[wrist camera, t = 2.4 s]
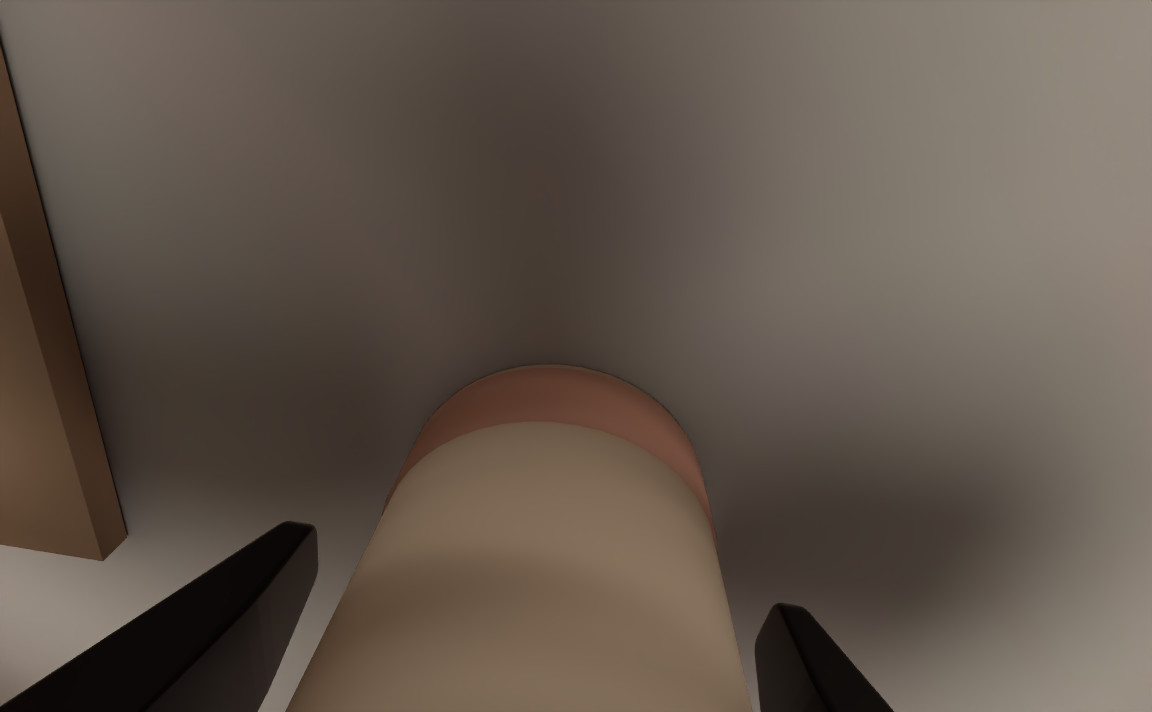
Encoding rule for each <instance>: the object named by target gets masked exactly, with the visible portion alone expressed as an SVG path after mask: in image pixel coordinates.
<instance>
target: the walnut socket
mask: <svg viewBox="0 0 1152 712" xmlns="http://www.w3.org/2000/svg"><path fill="white" fill-rule="evenodd" d="M126 538H127V534H126V530H125V526H124V523H123V519H122V515H121V511H120V507H119V503H118V499H117V495H116V492H115V488H114V484H113V480H112V476H111V472H110V468H109V464H108V461H107V457H106V453H105V449H104V445H103V441H102V437H101V433H100V430H99V426H98V422H97V418H96V414H95V410H94V406H93V403H92V399H91V395H90V391H89V387H88V383H87V379H86V375H85V372H84V368H83V364H82V360H81V356H80V352H79V348H78V344H77V341H76V337H75V333H74V329H73V325H72V321H71V317H70V313H69V310H68V306H67V302H66V298H65V294H64V290H63V286H62V282H61V279H60V275H59V271H58V267H57V263H56V259H55V255H54V251H53V248H52V244H51V240H50V236H49V232H48V228H47V224H46V221H45V217H44V213H43V209H42V205H41V201H40V197H39V193H38V190H37V186H36V182H35V178H34V174H33V170H32V166H31V162H30V159H29V155H28V151H27V147H26V143H25V139H24V135H23V131H22V128H21V124H20V120H19V116H18V112H17V108H16V104H15V100H14V97H13V93H12V89H11V85H10V81H9V77H8V73H7V70H6V66H5V62H4V58H3V54H2V50H1V46H0V545H7V546H13V547H19V548H25V549H31V550H37V551H44V552H50V553H56V554H62V555H68V556H74V557H80V558H87V559H93V560H99V561H104V560H105V559H106V558H107V557H108V556H109V555H110V554H111V553H112V552H113V551H114V550H115V549H116V548H117V547H118V546H119V545H120V544H121V543H122V542H123V541H124V540H125V539H126Z"/></svg>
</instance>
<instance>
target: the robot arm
mask: <svg viewBox="0 0 1152 712" xmlns="http://www.w3.org/2000/svg"><path fill="white" fill-rule="evenodd" d="M317 572H318V545H317V531H316V528H315V527H314V526H313V525H311V524H306V523H300V522H294V521H286V522H283V523H281V524H279V525H277V526H276V527H274V528H273V529H271V530H270V531H268V532H267V533H265V534H264V535H262V536H260V537H259V538H257V539H256V540H254V541H253V542H251V543H250V544H248V545H247V546H245V547H244V548H242V549H241V550H239V551H238V552H236V553H234V554H233V555H231V556H230V557H228V558H227V559H225V560H224V561H222V562H221V563H219V564H218V565H216V566H215V567H213V568H211V569H210V570H208V571H207V572H205V573H204V574H202V575H201V576H199V577H198V578H196V579H195V580H193V581H192V582H190V583H188V584H187V585H185V586H184V587H182V588H181V589H179V590H178V591H176V592H175V593H173V594H172V595H170V596H169V597H167V598H165V599H164V600H162V601H161V602H159V603H158V604H156V605H155V606H153V607H152V608H150V609H149V610H147V611H146V612H144V613H142V614H141V615H139V616H138V617H136V618H135V619H133V620H132V621H130V622H129V623H127V624H126V625H124V626H123V627H121V628H120V629H118V630H116V631H115V632H113V633H112V634H110V635H109V636H107V637H106V638H104V639H103V640H101V641H100V642H98V643H97V644H95V645H93V646H92V647H90V648H89V649H87V650H86V651H84V652H83V653H81V654H80V655H78V656H77V657H75V658H74V659H72V660H70V661H69V662H67V663H66V664H64V665H63V666H61V667H60V668H58V669H57V670H55V671H54V672H52V673H51V674H49V675H47V676H46V677H44V678H43V679H41V680H40V681H38V682H37V683H35V684H34V685H32V686H31V687H29V688H28V689H26V690H24V691H23V692H21V693H20V694H18V695H17V696H15V697H14V698H12V699H11V700H9V701H8V702H6V703H5V704H3V705H2V706H0V712H258V710H259V708H260V706H261V704H262V702H263V700H264V698H265V696H266V694H267V693H268V691H269V688H270V686H271V684H272V682H273V679H274V677H275V675H276V673H277V670H278V668H279V665H280V663H281V661H282V658H283V656H284V654H285V651H286V649H287V646H288V644H289V642H290V639H291V637H292V635H293V632H294V630H295V627H296V625H297V623H298V620H299V618H300V616H301V613H302V611H303V608H304V606H305V604H306V601H307V599H308V597H309V594H310V592H311V589H312V587H313V585H314V582H315V579H316V576H317ZM755 661H756V671H757V681H758V691H759V701H760V710H761V712H894V711H893V710H892V708H891V707H890V706H889V705H888V704H887V703H886V701H885V700H884V699H883V698H882V697H881V696H880V694H879V693H878V692H877V691H876V690H875V689H874V687H873V686H872V685H871V684H870V683H869V682H868V680H867V679H866V678H865V677H864V676H863V675H862V673H861V672H860V671H859V670H858V669H857V668H856V666H855V665H854V664H853V663H852V662H851V661H850V659H849V658H848V657H847V656H846V655H845V654H844V652H843V651H842V650H841V649H840V648H839V647H838V645H837V644H836V643H835V642H834V641H833V640H832V638H831V637H830V636H829V635H828V634H827V633H826V631H825V630H824V629H823V628H822V627H821V626H820V624H819V623H818V622H817V621H816V620H815V619H814V617H813V616H812V615H811V614H810V613H809V612H808V611H807V610H806V609H805V608H803V607H801V606H796V605H790V604H784V603H777V604H775V605H774V606H773V607H772V608H771V610H770V612H769V614H768V616H767V618H766V620H765V622H764V624H763V626H762V628H761V630H760V632H759V634H758V636H757V639H756V643H755Z"/></svg>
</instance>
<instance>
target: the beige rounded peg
mask: <svg viewBox="0 0 1152 712" xmlns="http://www.w3.org/2000/svg"><path fill="white" fill-rule="evenodd" d="M717 555H718V553H717V537H716V533H715V528H714V524H713V520H712V515H711V511H710V507H709V503H708V498H707V494H706V490H705V486H704V481H703V477H702V473H701V468H700V464H699V460H698V458H697V455H696V453H695V451H694V448H693V446H692V444H691V442H690V441H689V439H688V437H687V436H686V434H685V432H684V431H683V430H682V428H681V427H680V425H679V424H678V423H677V422H676V420H675V419H674V418H673V417H672V416H671V415H670V413H669V412H668V411H667V410H666V409H665V408H664V407H662V406H661V405H660V404H659V403H658V402H657V401H656V400H655V399H653V398H652V397H651V396H649V395H648V394H646V393H645V392H643V391H642V390H640V389H639V388H637V387H635V386H633V385H631V384H629V383H627V382H626V381H624V380H622V379H619V378H617V377H614V376H611V375H609V374H606V373H603V372H600V371H596V370H592V369H588V368H583V367H577V366H569V365H561V364H538V365H529V366H520V367H516V368H511V369H507V370H503V371H499V372H496V373H494V374H491V375H488V376H486V377H483V378H481V379H479V380H477V381H475V382H473V383H471V384H469V385H467V386H466V387H464V388H463V389H461V390H460V391H459V392H457V393H456V394H455V395H453V396H452V397H451V398H450V399H448V400H447V401H446V402H445V403H444V404H443V405H442V406H441V407H440V408H439V409H438V410H436V411H435V412H434V413H433V415H432V416H431V417H430V419H429V420H428V421H427V423H426V424H425V425H424V427H423V428H422V430H421V432H420V434H419V436H418V438H417V440H416V442H415V444H414V446H413V448H412V450H411V452H410V454H409V456H408V458H407V460H406V462H405V464H404V466H403V468H402V470H401V472H400V474H399V476H398V478H397V480H396V482H395V484H394V486H393V488H392V490H391V492H390V494H389V495H388V497H387V500H386V503H385V507H384V510H383V513H382V517H381V519H380V521H379V524H378V526H377V528H376V530H375V532H374V534H373V536H372V538H371V540H370V542H369V544H368V546H367V548H366V550H365V552H364V554H363V556H362V558H361V560H360V562H359V564H358V566H357V568H356V570H355V572H354V574H353V576H352V578H351V580H350V582H349V584H348V586H347V588H346V590H345V592H344V594H343V596H342V598H341V600H340V602H339V604H338V606H337V608H336V610H335V612H334V614H333V616H332V618H331V620H330V622H329V624H328V626H327V628H326V630H325V633H324V635H323V637H322V639H321V641H320V643H319V645H318V647H317V649H316V651H315V653H314V655H313V657H312V659H311V661H310V663H309V665H308V667H307V669H306V671H305V673H304V675H303V677H302V679H301V681H300V683H299V685H298V687H297V689H296V691H295V693H294V695H293V697H292V699H291V701H290V703H289V705H288V707H287V709H286V711H285V712H753V711H752V707H751V702H750V698H749V693H748V689H747V685H746V680H745V676H744V671H743V667H742V663H741V658H740V654H739V649H738V645H737V641H736V636H735V632H734V627H733V623H732V619H731V614H730V610H729V605H728V601H727V597H726V592H725V588H724V583H723V579H722V575H721V570H720V566H719V561H718V557H717Z"/></svg>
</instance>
